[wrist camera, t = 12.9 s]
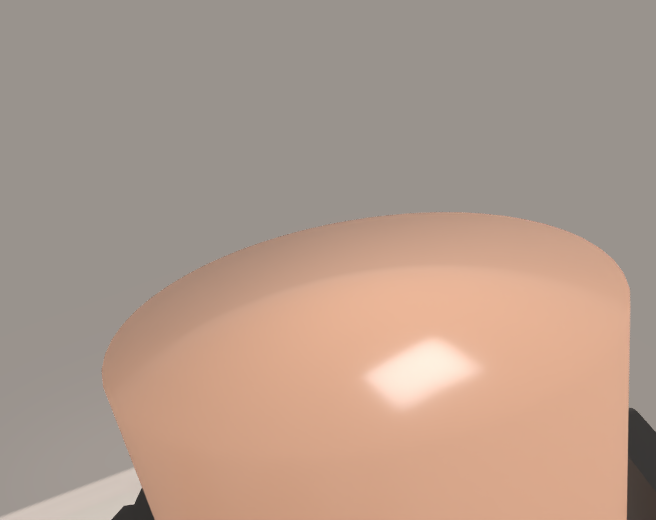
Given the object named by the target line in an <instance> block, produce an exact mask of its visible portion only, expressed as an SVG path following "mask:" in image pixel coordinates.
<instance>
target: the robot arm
mask: <svg viewBox="0 0 656 520" xmlns="http://www.w3.org/2000/svg"><path fill="white" fill-rule="evenodd" d="M112 520H155V519H154V517H153V514H152V511H151V509H150V506H149V504H148V501H147V499H146V496H145V493H144V491H143V488H142V489H141V491H140V493H139V495H138V497H137V500H136V502H135V504H134V505H127V506H124V507H123V508H122V509H121V510H120V511H119V512H118V513H117V514H116V515H115V516H114V517H113V519H112ZM627 520H656V432H655V431H654V430H653V429H652V428H651V426H650V425H649V424H648V423H647V422H646V421H645V420H644V419H643V417H642V416H641V415H640V414H639V413H638V412H637V411H636V410H635V409H633V408H629V410H628V471H627Z"/></svg>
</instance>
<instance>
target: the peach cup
mask: <svg viewBox="0 0 656 520" xmlns="http://www.w3.org/2000/svg"><path fill="white" fill-rule="evenodd" d="M629 347H630V289H629V286H628V283H627V281H626V278H625V275H624V273H623V272H622V270H621V269H620V268H619V267H618V265H617V264H616V263H615V261H614V260H613V259H612V258H611V257H610V256H609V255H607V254H606V253H605V252H604V251H603V250H601V249H600V248H599V247H597V246H595V245H594V244H592V243H590V242H589V241H587V240H585V239H584V238H582V237H579V236H577V235H575V234H572V233H570V232H568V231H565V230H562V229H559V228H556V227H553V226H550V225H547V224H543V223H539V222H534V221H530V220H526V219H520V218H513V217H508V216H500V215H491V214H481V213H461V212H430V213H409V214H397V215H386V216H377V217H369V218H363V219H356V220H350V221H344V222H339V223H334V224H328V225H323V226H319V227H315V228H311V229H306V230H302V231H298V232H295V233H291V234H287V235H283V236H280V237H277V238H274V239H270V240H267V241H264V242H261V243H258V244H255V245H253V246H250V247H247V248H244V249H241V250H239V251H236V252H234V253H232V254H229V255H227V256H224V257H222V258H220V259H217V260H215V261H213V262H211V263H209V264H207V265H204V266H202V267H201V268H199V269H197V270H195V271H193V272H191V273H189V274H187V275H185V276H184V277H182V278H181V279H179V280H177V281H175V282H174V283H172V284H170V285H169V286H167V287H166V288H164V289H163V290H161V291H160V292H159V293H157V294H156V295H154V296H153V297H151V298H150V299H149V300H148V301H147V302H146V303H144V304H143V305H142V306H141V307H140V308H138V309H137V310H136V311H135V312H134V313H133V314H132V315H131V316H130V317H129V318H128V319H127V320H126V321H125V323H124V324H123V325H122V326H121V328H120V329H119V330H118V332H117V333H116V335H115V336H114V337H113V339H112V341H111V343H110V345H109V347H108V349H107V352H106V353H105V357H104V362H103V366H102V379H103V387H104V390H105V393H106V395H107V398H108V400H109V403H110V405H111V408H112V410H113V413H114V416H115V418H116V421H117V423H118V426H119V429H120V431H121V434H122V436H123V439H124V442H125V444H126V447H127V449H128V452H129V454H130V457H131V460H132V462H133V465H134V468H135V470H136V473H137V475H138V478H139V480H140V483H141V486H142V488H143V491H144V493H145V496H146V499H147V501H148V504H149V506H150V509H151V511H152V514H153V517H154V519H155V520H627V471H628V410H629Z"/></svg>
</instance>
